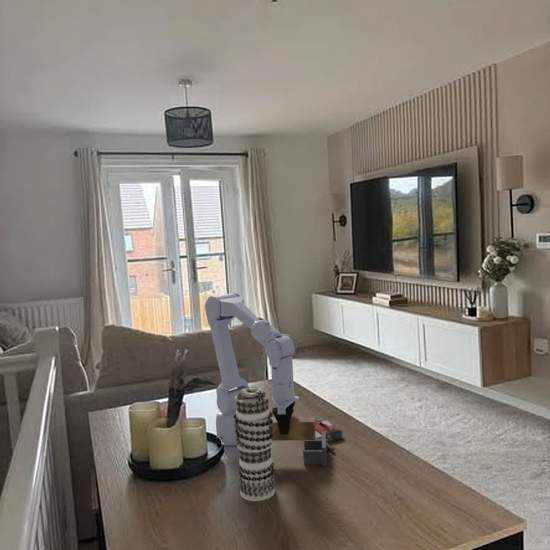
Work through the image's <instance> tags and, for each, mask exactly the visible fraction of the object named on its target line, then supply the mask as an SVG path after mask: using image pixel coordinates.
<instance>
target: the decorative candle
mask: <svg viewBox="0 0 550 550" xmlns="http://www.w3.org/2000/svg"><path fill="white" fill-rule="evenodd" d="M269 396H270V395H269V394H268V393H267V392H266V391H265V390H264V389H263V388H261V387H258V386H257V387H255V386H252V387H251V386H250V387H249V388H245V389H242V390H241V391H240V392H239V393H238V395H236V396H235V400H236V401H237V410H236V414H235V415H234V416H233V418H234V419H235V425H234V426H235V427H236V430H235V433H236V435H237V436H236V437H237V438H236V441H237V443H238V444H237V445H236V447H237V449H238V451H239V452H238V453H239V457H238V458H239V459H238V461H239V463H238V465H237V468H238V475H239V478H238V482H239V485H238V486H239V487H238V488H239V490H240V492H239V495H240V497H241V498H243V499H244V500H246V501H251V502H261V501H266V500H268V499H270V498H272V497H273V495H274V494H276V486H275V485H276V483H275V481H276V480H275V478H276V477H275V475H274V474H275V467H274V465H275V462H274V461H273V454H272V446H273V441H272V440H271V438H272V437H273V434H272V433H270V432H272V431H273V428H272V427H271V426H269V425H270V424H272V423H273V420H272V419H271V417H274V415H273V413H272V412H271V411H270V406H269ZM236 416H237V417H236ZM237 424H238V425H237ZM238 430H239V432H238ZM265 499H266V500H265Z"/></svg>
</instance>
